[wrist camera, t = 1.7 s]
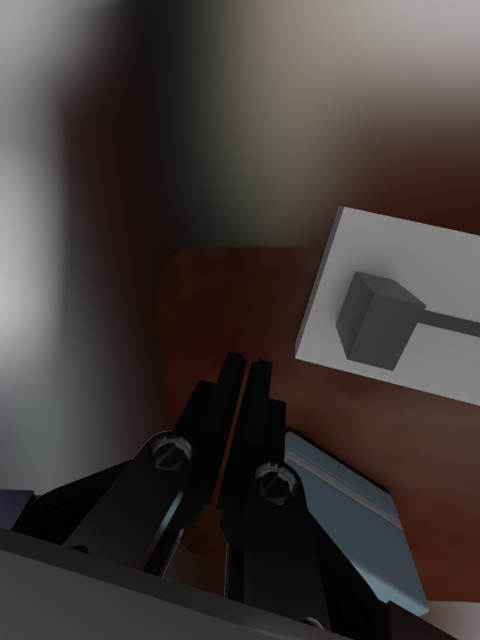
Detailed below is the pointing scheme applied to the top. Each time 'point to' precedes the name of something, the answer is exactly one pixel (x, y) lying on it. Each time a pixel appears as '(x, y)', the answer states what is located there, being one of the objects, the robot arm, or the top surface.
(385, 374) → the panel
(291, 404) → the top surface
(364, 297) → the fader knob
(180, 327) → the top surface
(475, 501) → the top surface
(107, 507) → the robot arm
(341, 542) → the radio
